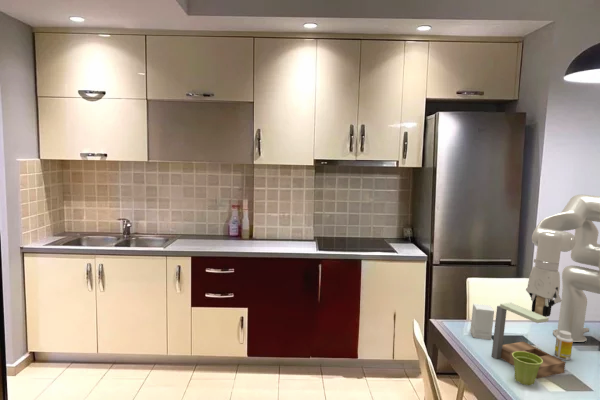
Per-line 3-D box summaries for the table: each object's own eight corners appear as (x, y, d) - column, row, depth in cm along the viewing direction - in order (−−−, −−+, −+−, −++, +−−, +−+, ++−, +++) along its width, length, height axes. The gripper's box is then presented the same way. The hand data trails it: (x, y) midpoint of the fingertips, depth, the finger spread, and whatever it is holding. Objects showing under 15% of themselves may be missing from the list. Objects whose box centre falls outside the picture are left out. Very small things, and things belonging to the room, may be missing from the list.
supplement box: (491, 340, 189) (494, 311, 188) (472, 337, 191) (475, 308, 189) (487, 333, 197) (490, 305, 195) (469, 330, 198) (472, 303, 197)
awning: (502, 354, 176) (508, 301, 174) (541, 375, 161) (548, 318, 158) (491, 356, 174) (497, 302, 172) (529, 378, 158) (537, 319, 156)
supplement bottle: (573, 359, 175) (577, 334, 174) (564, 361, 173) (567, 336, 172) (560, 353, 180) (563, 328, 179) (550, 355, 178) (554, 330, 177)
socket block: (522, 351, 180) (523, 341, 180) (564, 372, 164) (565, 362, 164) (496, 355, 175) (497, 345, 174) (536, 378, 158) (538, 367, 158)
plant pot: (542, 390, 150) (545, 365, 149) (511, 385, 153) (514, 360, 152) (536, 377, 159) (539, 353, 158) (507, 372, 162) (510, 349, 161)
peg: (531, 317, 169) (534, 291, 168) (538, 316, 171) (542, 291, 170) (540, 321, 166) (544, 295, 165) (548, 320, 167) (551, 294, 166)
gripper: (520, 260, 172) (514, 307, 174) (560, 272, 157) (553, 323, 159) (534, 259, 175) (528, 305, 177) (575, 271, 160) (568, 321, 162)
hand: (540, 313), depth 168 cm, fingers closed on peg, 4 cm apart
